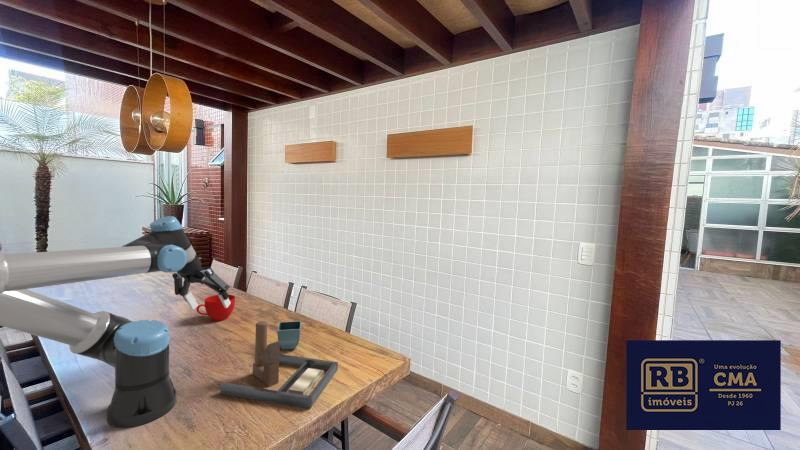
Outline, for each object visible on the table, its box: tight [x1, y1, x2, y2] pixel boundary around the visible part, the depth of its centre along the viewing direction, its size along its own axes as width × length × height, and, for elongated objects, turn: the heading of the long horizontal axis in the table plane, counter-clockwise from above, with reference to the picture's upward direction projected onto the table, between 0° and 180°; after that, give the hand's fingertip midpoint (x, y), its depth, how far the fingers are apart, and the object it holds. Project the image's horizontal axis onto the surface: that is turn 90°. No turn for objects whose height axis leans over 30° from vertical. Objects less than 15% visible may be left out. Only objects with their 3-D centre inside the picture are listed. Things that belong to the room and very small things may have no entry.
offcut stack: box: [288, 368, 325, 396], centre depth 105 cm, size 16×5×3 cm, turn 170°
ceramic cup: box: [196, 294, 236, 322], centre depth 155 cm, size 13×17×10 cm
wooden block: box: [252, 320, 281, 387], centre depth 107 cm, size 4×11×18 cm, turn 50°
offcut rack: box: [219, 353, 339, 410], centre depth 106 cm, size 22×29×3 cm
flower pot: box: [276, 320, 302, 351], centre depth 130 cm, size 9×9×9 cm
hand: (211, 306), depth 120 cm, fingers open, 13 cm apart
